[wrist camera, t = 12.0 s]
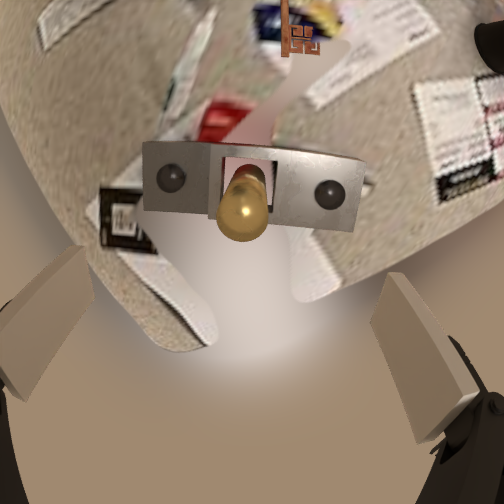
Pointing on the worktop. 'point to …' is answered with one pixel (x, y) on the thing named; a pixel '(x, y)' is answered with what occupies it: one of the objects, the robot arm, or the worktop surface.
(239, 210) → the brass pin
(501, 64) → the aerosol can
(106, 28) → the worktop surface
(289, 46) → the key
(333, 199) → the slotted metal plate
